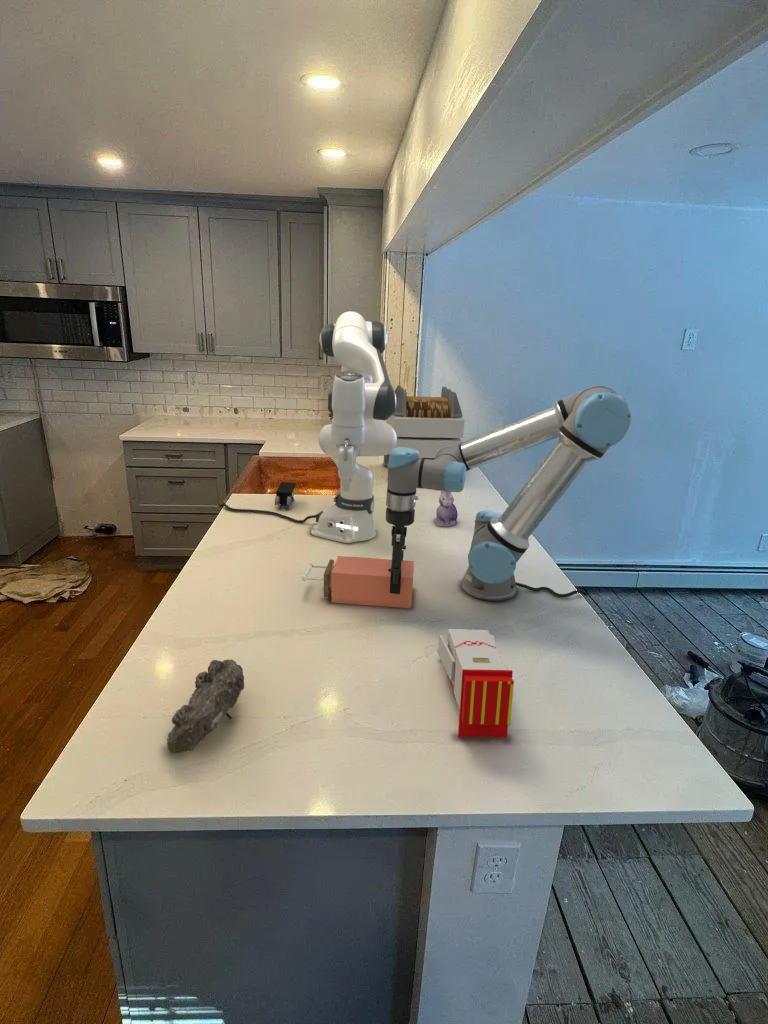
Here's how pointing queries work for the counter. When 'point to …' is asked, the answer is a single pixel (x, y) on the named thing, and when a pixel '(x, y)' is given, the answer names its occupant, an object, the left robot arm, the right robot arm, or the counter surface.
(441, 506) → the figurine
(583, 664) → the counter surface
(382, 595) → the tall pink open box
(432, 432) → the transformer
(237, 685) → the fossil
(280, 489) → the figurine character
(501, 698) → the toy
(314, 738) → the counter surface
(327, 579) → the drawer
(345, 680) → the counter surface
